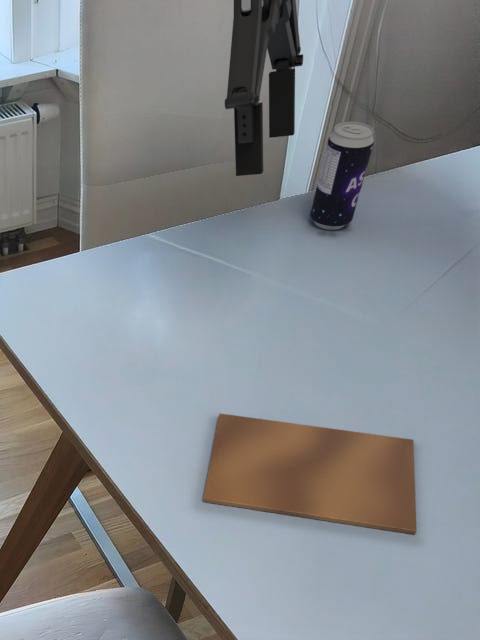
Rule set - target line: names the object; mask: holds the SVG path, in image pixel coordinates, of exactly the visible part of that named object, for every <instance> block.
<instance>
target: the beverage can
mask: <svg viewBox="0 0 480 640" xmlns="http://www.w3.org/2000/svg"><path fill="white" fill-rule="evenodd" d="M374 132H375V130H374V128H373V127H372V126H371V125H369V124H367V123H363V122H360V121H343V122H340V123H337V124H336V125H335V126H334V128H333V130H332V132H331V133H330V135H329V137H328V139H327V142H326V148H325V151H324V156H323V159H322V164H321V168H320V172H319V176H318V180H317V184H316V188H315V192H314V196H313V200H312V205H311V209H310V212H309V217H310V218H311V219H312V221H313V223H314V225H315V226H317V228H320V229H323V230H329V231H337V230H340V229H343V228H344V227H345V226H347V225H348V224H350V223H351V222H352V221H353V218H354V215H355V211H356V208H357V205H358V201H359V198H360V195H361V191H362V188H363V184H364V180H365V176H366V173H367V168H368V166H369V162H370V158H371V155H372V151H373V147H374V144H375V139H374Z"/></svg>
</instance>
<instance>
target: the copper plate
mask: <svg viewBox="0 0 480 640" xmlns="http://www.w3.org/2000/svg"><path fill="white" fill-rule="evenodd" d="M414 445H415V444H414V439H413V438H412V439H411V438H403V437H396V436H390V435H381V434H375V433H373V434H372V433H367V432H359V431H351V430H344V429H339V428H338V429H337V428H331V427H322V426H316V425H308V424H302V423H293V422H288V421H287V422H286V421H279V420H273V419H272V420H271V419H263V418H256V417H249V416H241V415H234V414H227V413H219V414H218V418H217V425H216V430H215V434H214V440H213V445H212V449H211V450H212V451H211V455H210V456H211V457H210V461H209V465H208V472H207V477H206V483H205V488H204V494H203V499H202V502H204V503H207V504H215V505H221V506H227V507H234V508H241V509H248V510H253V511H254V510H255V511H259V512H260V511H261V512H266V513H273V514H280V515H286V516H292V517H293V516H294V517H299V518H305V519H313V520H319V521H326V522H332V523H338V524H344V525H350V526H357V527H364V528H369V529H370V528H371V529H375V530H376V529H377V530H383V531H389V532H397V533H402V534H410V535H416V533H417V509H416V508H417V506H416V505H417V504H416V477H415V476H416V475H415V473H416V471H415V446H414Z"/></svg>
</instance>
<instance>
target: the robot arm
mask: <svg viewBox="0 0 480 640" xmlns="http://www.w3.org/2000/svg"><path fill="white" fill-rule="evenodd" d="M232 19H233V20H232V30H231V46H230V56H229V67H228V69H229V70H228V79H227V91H226V98H225V99H224V108H225V110H232V109H233V116H234V117H233V118H234V120H233V122H234V124H233V125H234V153H235V154H234V155H235V156H234V157H235V176H236V177H240V176H241V177H243V176H253V175H255V176H256V175H262V174H263V173H264V125H263V123H264V119H263V118H264V116H263V114H264V111H263V109H264V107H263V104H264V103H263V102H260V100H261V99H260V98H261V97H260V96H261V91H262V84H263V76H264V72H265V71H264V70H265V64H266V58H267V53H268V57H269V61H270V62H269V63H270V66H271V70H273V71H269V72H268V138H269V139H272V138H281V137H290V136H291V137H292V136H294V135H295V133H296V132H295V131H296V130H295V124H296V123H295V122H296V121H295V120H296V67H302V66H303V63H304V54H303V53H302V54H301V50H302V47H301V41H300V32H299V31H300V29H299V21H298V10H297V0H233V18H232Z"/></svg>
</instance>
